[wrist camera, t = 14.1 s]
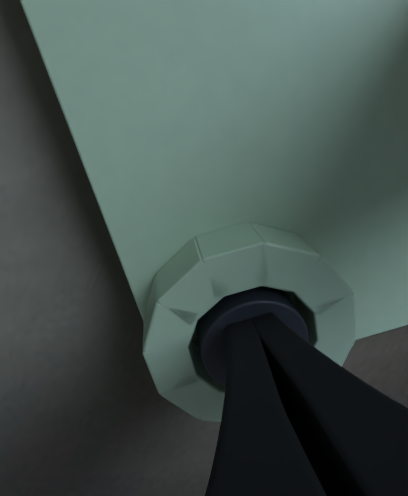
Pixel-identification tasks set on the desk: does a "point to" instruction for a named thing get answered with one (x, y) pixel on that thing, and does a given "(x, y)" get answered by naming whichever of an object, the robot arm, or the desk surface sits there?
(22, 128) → the desk surface
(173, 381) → the green flat slab
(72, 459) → the desk surface
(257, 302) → the button
